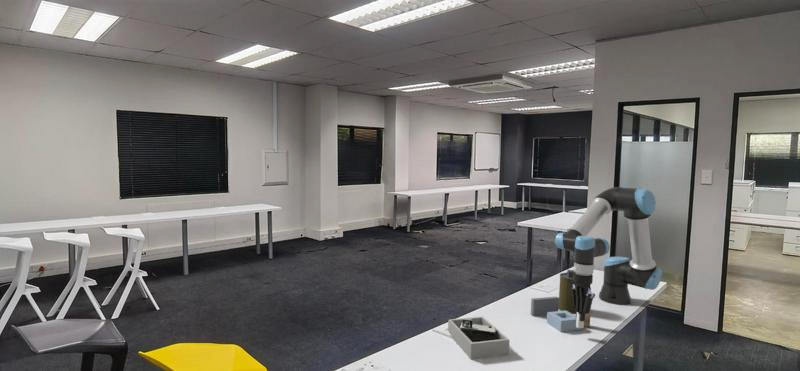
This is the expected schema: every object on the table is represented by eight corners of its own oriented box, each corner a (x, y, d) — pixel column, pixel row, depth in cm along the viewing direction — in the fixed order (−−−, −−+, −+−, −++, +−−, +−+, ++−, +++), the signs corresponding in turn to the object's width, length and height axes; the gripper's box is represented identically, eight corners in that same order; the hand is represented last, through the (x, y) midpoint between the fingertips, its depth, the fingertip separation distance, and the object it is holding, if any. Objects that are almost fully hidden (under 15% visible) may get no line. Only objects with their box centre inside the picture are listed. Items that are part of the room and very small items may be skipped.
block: (565, 320, 193) (566, 310, 192) (579, 329, 183) (580, 318, 183) (546, 322, 190) (547, 312, 190) (560, 331, 181) (561, 320, 180)
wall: (555, 312, 203) (556, 296, 202) (558, 313, 201) (559, 297, 201) (530, 314, 200) (531, 298, 199) (533, 316, 198) (533, 300, 197)
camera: (497, 342, 169) (498, 318, 168) (495, 350, 162) (496, 325, 161) (460, 336, 174) (461, 313, 173) (457, 343, 167) (458, 319, 166)
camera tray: (482, 329, 181) (482, 316, 181) (508, 354, 159) (509, 339, 159) (447, 333, 177) (448, 319, 177) (470, 359, 155) (471, 343, 154)
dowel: (585, 323, 190) (587, 292, 189) (591, 327, 186) (593, 295, 185) (578, 324, 189) (579, 292, 188) (584, 328, 185) (586, 295, 184)
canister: (582, 314, 201) (584, 274, 199) (559, 312, 203) (562, 272, 201) (577, 306, 212) (579, 268, 210) (556, 304, 214) (558, 266, 212)
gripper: (565, 269, 179) (562, 321, 181) (586, 278, 167) (582, 334, 168) (580, 268, 181) (576, 320, 183) (601, 277, 169) (598, 333, 170)
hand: (579, 327), depth 176 cm, fingers closed
